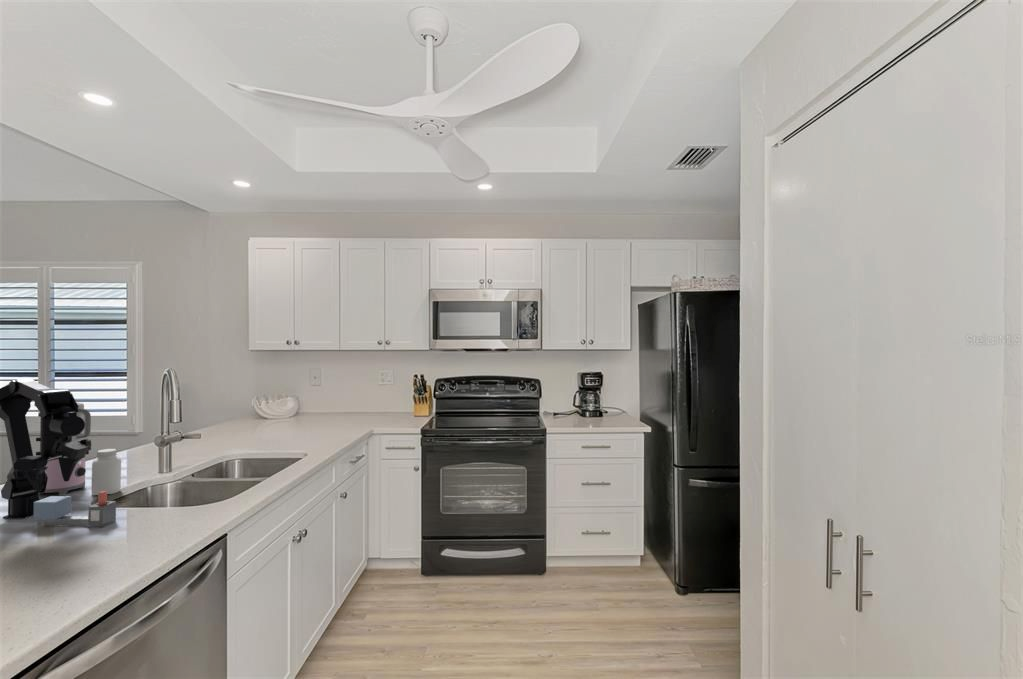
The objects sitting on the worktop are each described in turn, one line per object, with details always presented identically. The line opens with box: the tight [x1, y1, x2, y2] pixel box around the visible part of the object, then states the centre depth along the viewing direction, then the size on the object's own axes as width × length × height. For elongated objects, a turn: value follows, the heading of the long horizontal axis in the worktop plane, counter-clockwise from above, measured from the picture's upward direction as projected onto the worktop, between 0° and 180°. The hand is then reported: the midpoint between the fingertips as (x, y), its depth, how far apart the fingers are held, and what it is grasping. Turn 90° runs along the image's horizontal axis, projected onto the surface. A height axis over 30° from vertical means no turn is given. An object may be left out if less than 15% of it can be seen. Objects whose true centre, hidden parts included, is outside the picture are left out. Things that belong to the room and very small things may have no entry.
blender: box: [39, 402, 92, 496], centre depth 174 cm, size 16×12×32 cm
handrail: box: [43, 515, 88, 527], centre depth 144 cm, size 13×2×2 cm, turn 93°
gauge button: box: [97, 491, 108, 505], centre depth 144 cm, size 2×2×5 cm
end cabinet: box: [87, 500, 117, 529], centre depth 144 cm, size 4×5×6 cm
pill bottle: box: [90, 448, 122, 496], centre depth 173 cm, size 8×8×15 cm
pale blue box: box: [33, 495, 72, 521], centre depth 144 cm, size 6×5×5 cm
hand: (52, 485), depth 144 cm, fingers open, 9 cm apart
